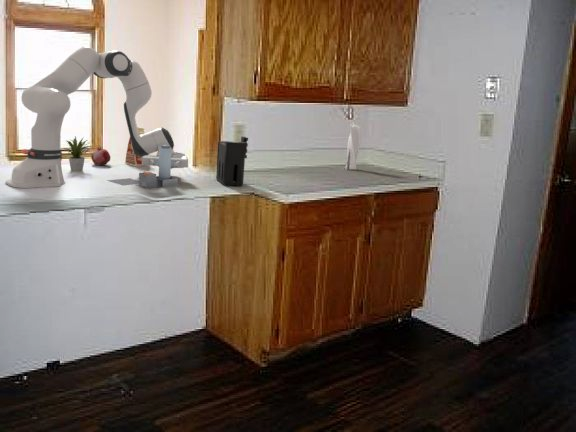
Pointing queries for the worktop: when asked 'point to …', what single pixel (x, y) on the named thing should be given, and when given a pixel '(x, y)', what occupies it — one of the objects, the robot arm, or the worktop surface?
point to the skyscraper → (353, 147)
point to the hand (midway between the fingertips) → (164, 164)
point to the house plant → (77, 155)
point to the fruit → (100, 156)
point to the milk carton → (130, 155)
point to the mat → (125, 181)
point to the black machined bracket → (231, 162)
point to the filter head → (155, 181)
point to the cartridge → (164, 162)
